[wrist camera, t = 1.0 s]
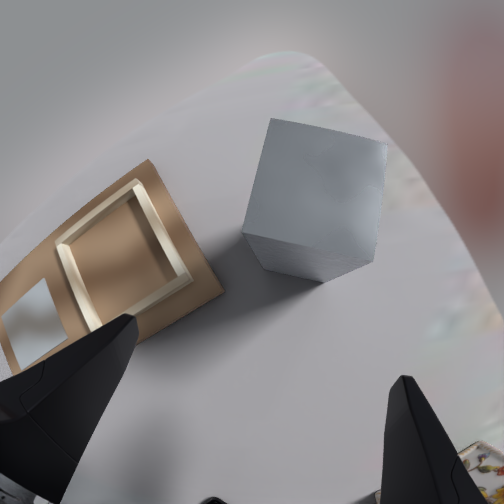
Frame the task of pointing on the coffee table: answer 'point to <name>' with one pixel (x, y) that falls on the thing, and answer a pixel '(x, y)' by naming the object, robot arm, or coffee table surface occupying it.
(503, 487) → the decorative jar
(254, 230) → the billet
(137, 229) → the wooden board
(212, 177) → the coffee table surface
